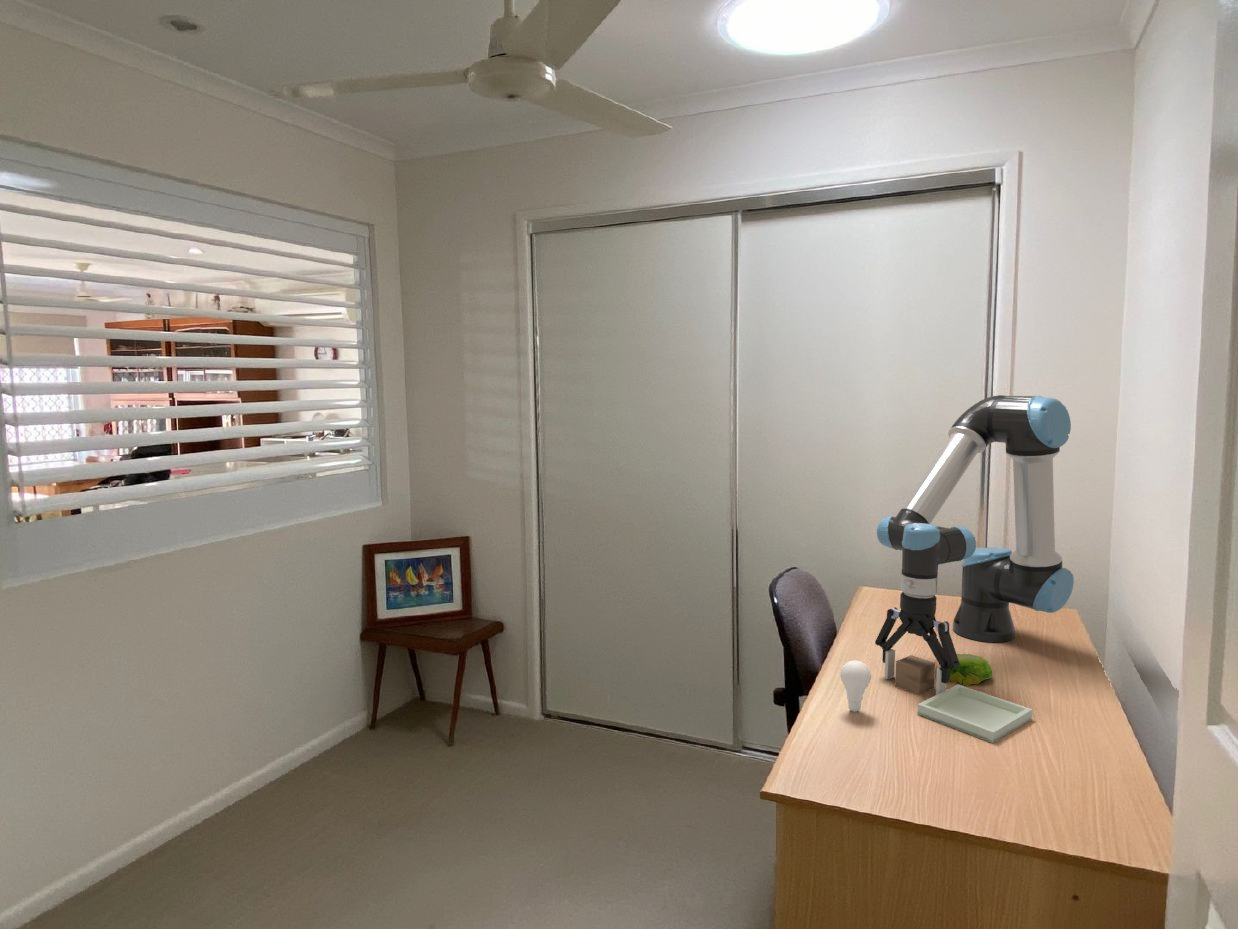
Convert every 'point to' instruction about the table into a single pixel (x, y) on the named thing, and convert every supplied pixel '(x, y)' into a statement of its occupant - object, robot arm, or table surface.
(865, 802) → the table surface
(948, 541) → the robot arm
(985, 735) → the tray
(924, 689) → the cube
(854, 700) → the lightbulb
